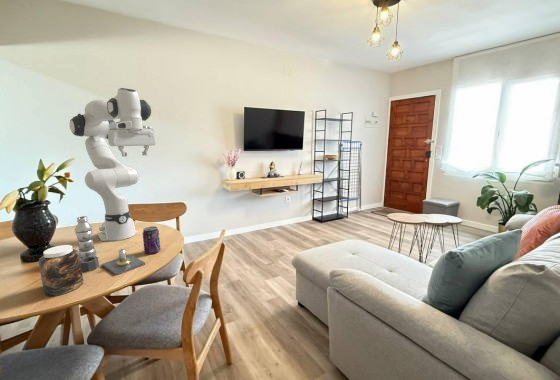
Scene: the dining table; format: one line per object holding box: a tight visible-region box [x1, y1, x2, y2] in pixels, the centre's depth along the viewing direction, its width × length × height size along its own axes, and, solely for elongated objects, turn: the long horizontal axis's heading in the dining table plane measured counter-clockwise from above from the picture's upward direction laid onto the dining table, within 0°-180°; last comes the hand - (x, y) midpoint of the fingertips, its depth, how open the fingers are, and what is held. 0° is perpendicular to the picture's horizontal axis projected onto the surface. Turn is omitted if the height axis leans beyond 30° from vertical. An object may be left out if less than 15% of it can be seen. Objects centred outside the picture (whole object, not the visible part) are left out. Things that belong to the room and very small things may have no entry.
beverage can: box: [142, 225, 161, 255], centre depth 129 cm, size 7×7×12 cm
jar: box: [38, 244, 84, 297], centre depth 98 cm, size 12×12×15 cm
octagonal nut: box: [80, 255, 100, 273], centre depth 113 cm, size 6×6×4 cm
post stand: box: [101, 248, 146, 276], centre depth 115 cm, size 14×12×7 cm
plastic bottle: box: [74, 215, 97, 260], centre depth 120 cm, size 6×7×20 cm
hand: (135, 155), depth 124 cm, fingers open, 8 cm apart
